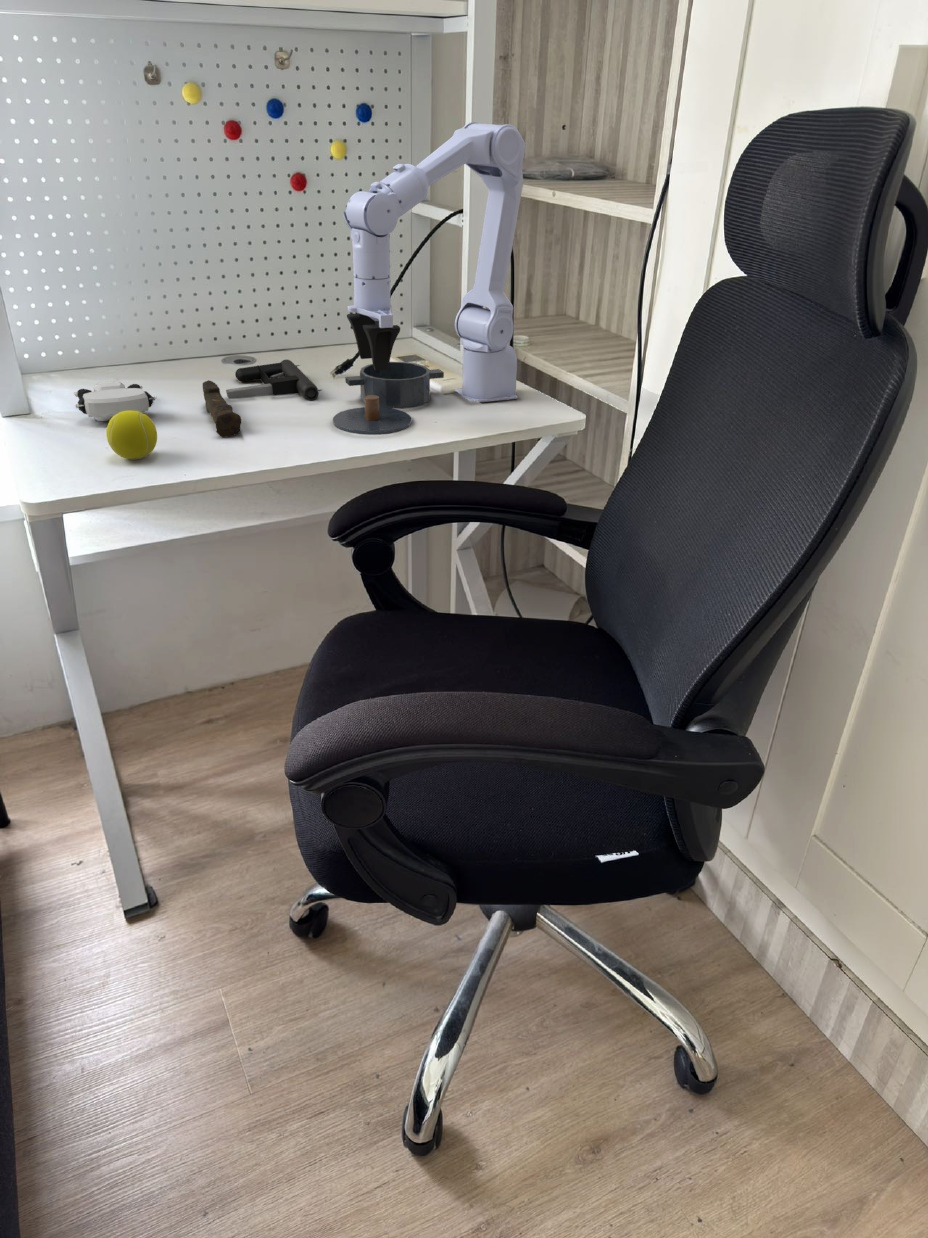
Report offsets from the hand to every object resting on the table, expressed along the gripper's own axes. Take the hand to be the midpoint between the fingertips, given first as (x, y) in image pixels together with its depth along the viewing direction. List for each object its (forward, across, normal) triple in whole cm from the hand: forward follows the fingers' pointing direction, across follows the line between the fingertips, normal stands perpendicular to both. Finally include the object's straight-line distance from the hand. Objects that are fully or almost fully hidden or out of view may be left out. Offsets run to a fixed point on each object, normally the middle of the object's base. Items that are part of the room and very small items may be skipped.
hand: (373, 363), depth 150 cm
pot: (+9, -9, +7) cm, 15 cm away
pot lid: (+9, +2, -1) cm, 9 cm away
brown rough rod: (+10, -8, -25) cm, 28 cm away
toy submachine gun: (+10, -22, -13) cm, 27 cm away
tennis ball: (+10, +6, -39) cm, 41 cm away
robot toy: (+10, -17, -40) cm, 45 cm away
